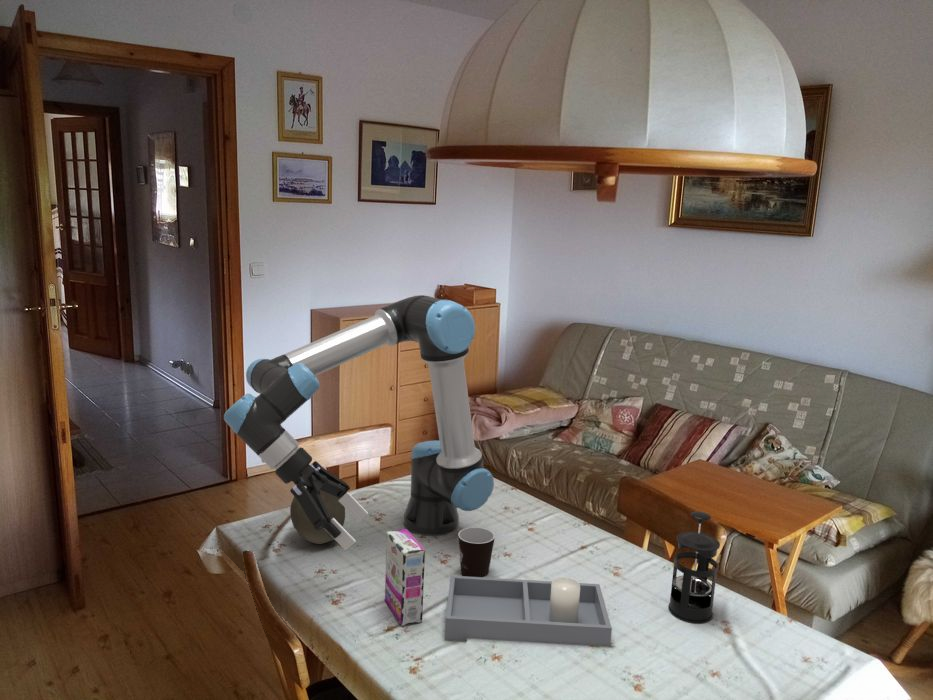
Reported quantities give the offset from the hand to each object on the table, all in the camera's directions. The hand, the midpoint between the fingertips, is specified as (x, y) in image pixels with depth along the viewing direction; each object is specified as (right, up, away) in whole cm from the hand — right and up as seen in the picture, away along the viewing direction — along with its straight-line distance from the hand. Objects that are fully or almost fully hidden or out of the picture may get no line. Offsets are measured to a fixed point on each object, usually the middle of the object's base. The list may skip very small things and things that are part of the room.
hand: (357, 530), depth 149 cm
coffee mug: (+25, -15, +21) cm, 36 cm away
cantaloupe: (-15, -11, +33) cm, 38 cm away
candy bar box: (+9, -18, +3) cm, 21 cm away
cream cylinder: (+43, -19, +1) cm, 47 cm away
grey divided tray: (+35, -19, +1) cm, 40 cm away
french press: (+73, -20, +8) cm, 76 cm away
